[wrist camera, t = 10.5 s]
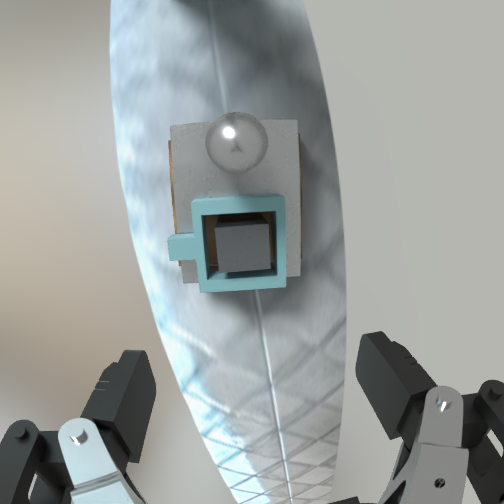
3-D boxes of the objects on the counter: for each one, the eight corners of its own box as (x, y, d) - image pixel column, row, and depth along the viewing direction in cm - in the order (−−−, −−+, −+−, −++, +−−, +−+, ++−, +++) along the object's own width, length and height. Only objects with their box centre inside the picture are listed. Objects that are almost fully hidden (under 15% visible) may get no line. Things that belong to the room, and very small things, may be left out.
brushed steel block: (218, 215, 30) (214, 228, 24) (260, 211, 30) (268, 223, 24) (221, 250, 31) (219, 273, 25) (262, 247, 32) (270, 268, 25)
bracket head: (169, 201, 26) (162, 204, 24) (280, 194, 27) (285, 196, 24) (178, 283, 28) (174, 293, 26) (281, 277, 29) (286, 287, 27)
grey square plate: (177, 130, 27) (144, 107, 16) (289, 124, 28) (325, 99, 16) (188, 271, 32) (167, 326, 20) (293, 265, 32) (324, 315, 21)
